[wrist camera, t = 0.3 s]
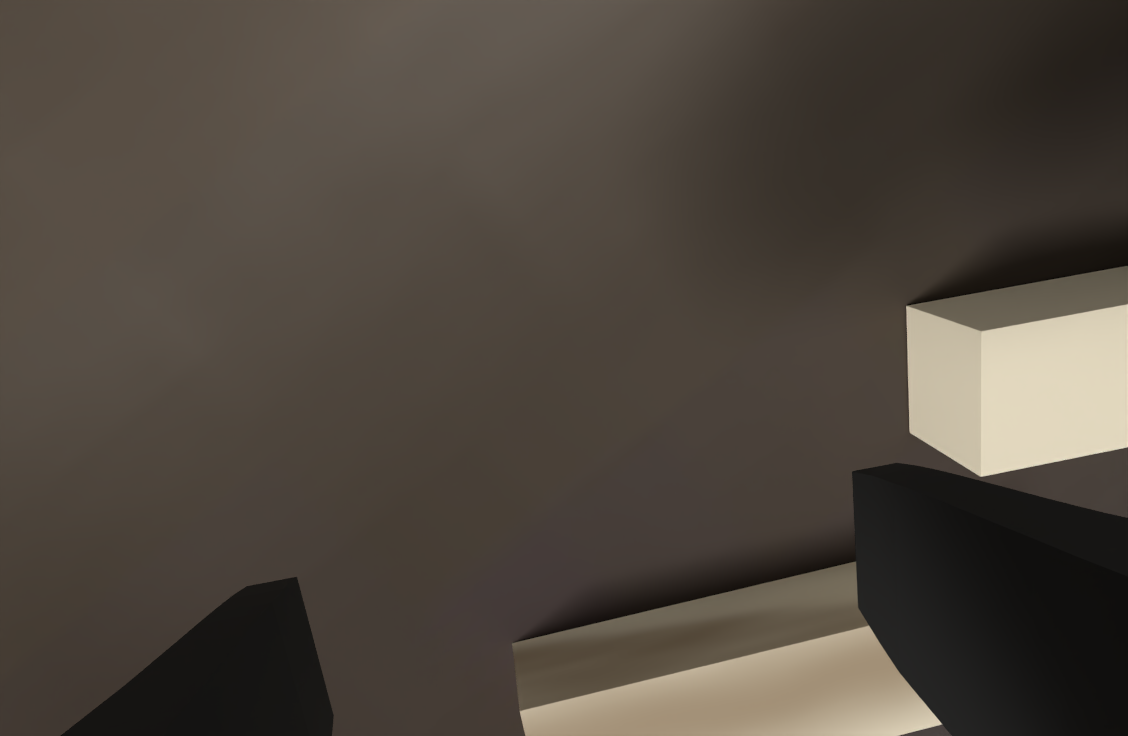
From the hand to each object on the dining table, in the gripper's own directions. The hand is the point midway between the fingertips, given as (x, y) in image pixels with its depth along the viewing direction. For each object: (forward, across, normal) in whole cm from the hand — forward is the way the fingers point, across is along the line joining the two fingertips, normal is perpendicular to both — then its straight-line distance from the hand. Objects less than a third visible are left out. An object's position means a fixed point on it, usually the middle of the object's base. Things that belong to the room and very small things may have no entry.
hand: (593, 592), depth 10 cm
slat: (+10, -4, +9) cm, 14 cm away
